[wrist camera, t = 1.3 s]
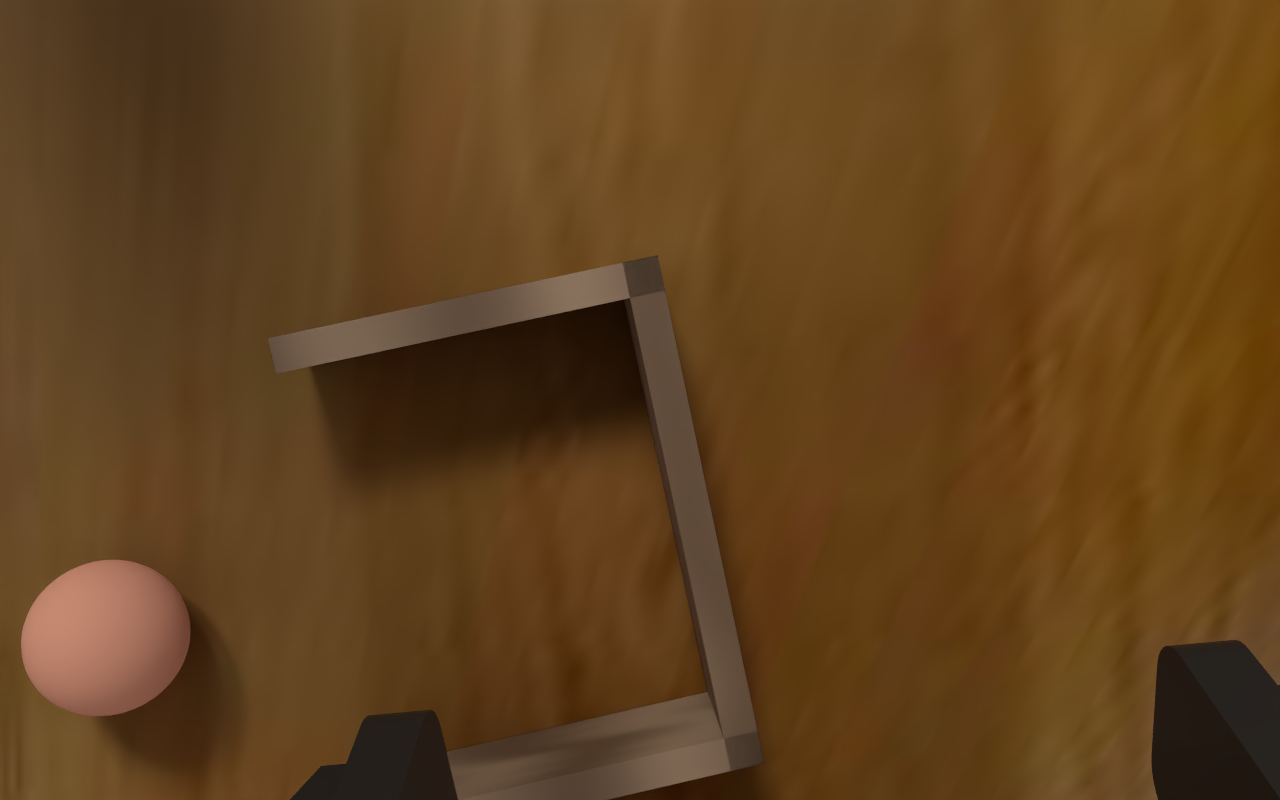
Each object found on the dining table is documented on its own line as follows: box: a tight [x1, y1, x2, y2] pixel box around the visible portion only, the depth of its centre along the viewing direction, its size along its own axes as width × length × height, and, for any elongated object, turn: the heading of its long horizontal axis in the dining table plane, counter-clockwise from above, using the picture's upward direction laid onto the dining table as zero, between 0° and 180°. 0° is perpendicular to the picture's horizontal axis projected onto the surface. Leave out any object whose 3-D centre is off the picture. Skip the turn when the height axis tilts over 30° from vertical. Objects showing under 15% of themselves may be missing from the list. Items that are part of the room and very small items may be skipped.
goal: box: [267, 255, 764, 800], centre depth 34 cm, size 11×15×4 cm
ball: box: [21, 560, 190, 716], centre depth 33 cm, size 4×4×4 cm
